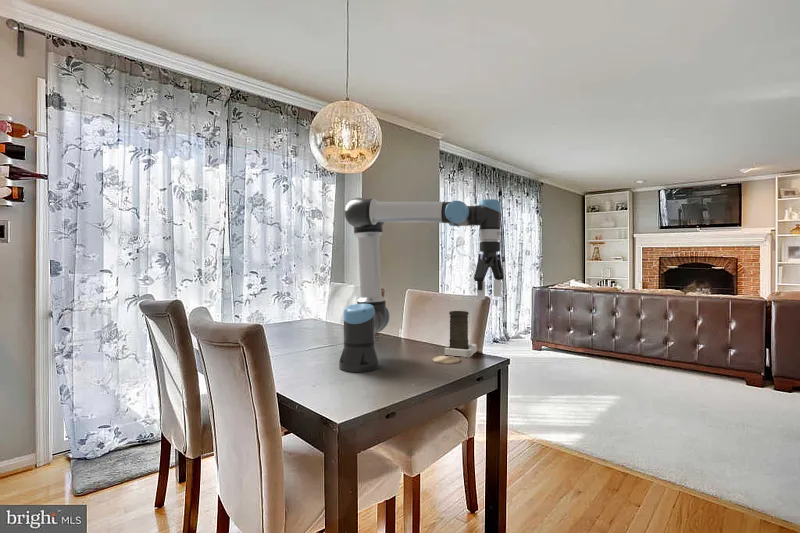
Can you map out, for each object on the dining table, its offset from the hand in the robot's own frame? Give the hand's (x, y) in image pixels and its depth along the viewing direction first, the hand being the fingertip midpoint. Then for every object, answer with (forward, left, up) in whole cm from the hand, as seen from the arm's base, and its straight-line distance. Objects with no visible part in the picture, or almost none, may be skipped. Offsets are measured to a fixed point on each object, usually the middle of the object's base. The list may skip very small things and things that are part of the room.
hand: (489, 298), depth 158 cm
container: (-16, +20, -27) cm, 37 cm away
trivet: (-18, +5, -26) cm, 32 cm away
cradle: (-15, +20, -26) cm, 36 cm away
